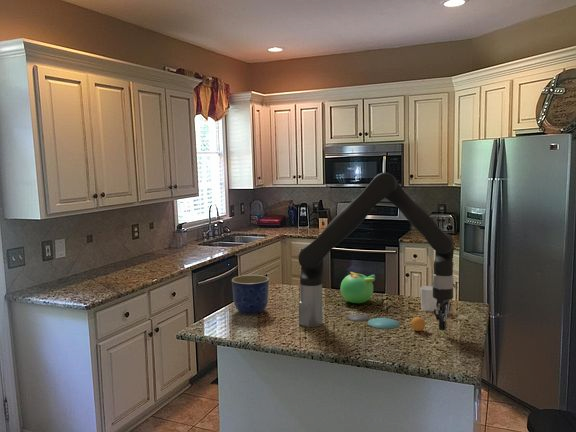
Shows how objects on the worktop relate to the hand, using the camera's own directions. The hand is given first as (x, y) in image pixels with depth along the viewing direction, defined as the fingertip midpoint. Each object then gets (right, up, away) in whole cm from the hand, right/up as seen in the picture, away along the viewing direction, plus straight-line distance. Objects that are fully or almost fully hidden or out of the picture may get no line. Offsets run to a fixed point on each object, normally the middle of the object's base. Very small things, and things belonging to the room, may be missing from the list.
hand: (442, 329), depth 181 cm
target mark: (-20, -1, +15) cm, 25 cm away
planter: (-77, 0, +34) cm, 84 cm away
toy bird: (-26, +2, +46) cm, 53 cm away
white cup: (+5, +1, +34) cm, 34 cm away
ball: (-8, +1, +6) cm, 10 cm away
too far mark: (-29, 0, +22) cm, 37 cm away
